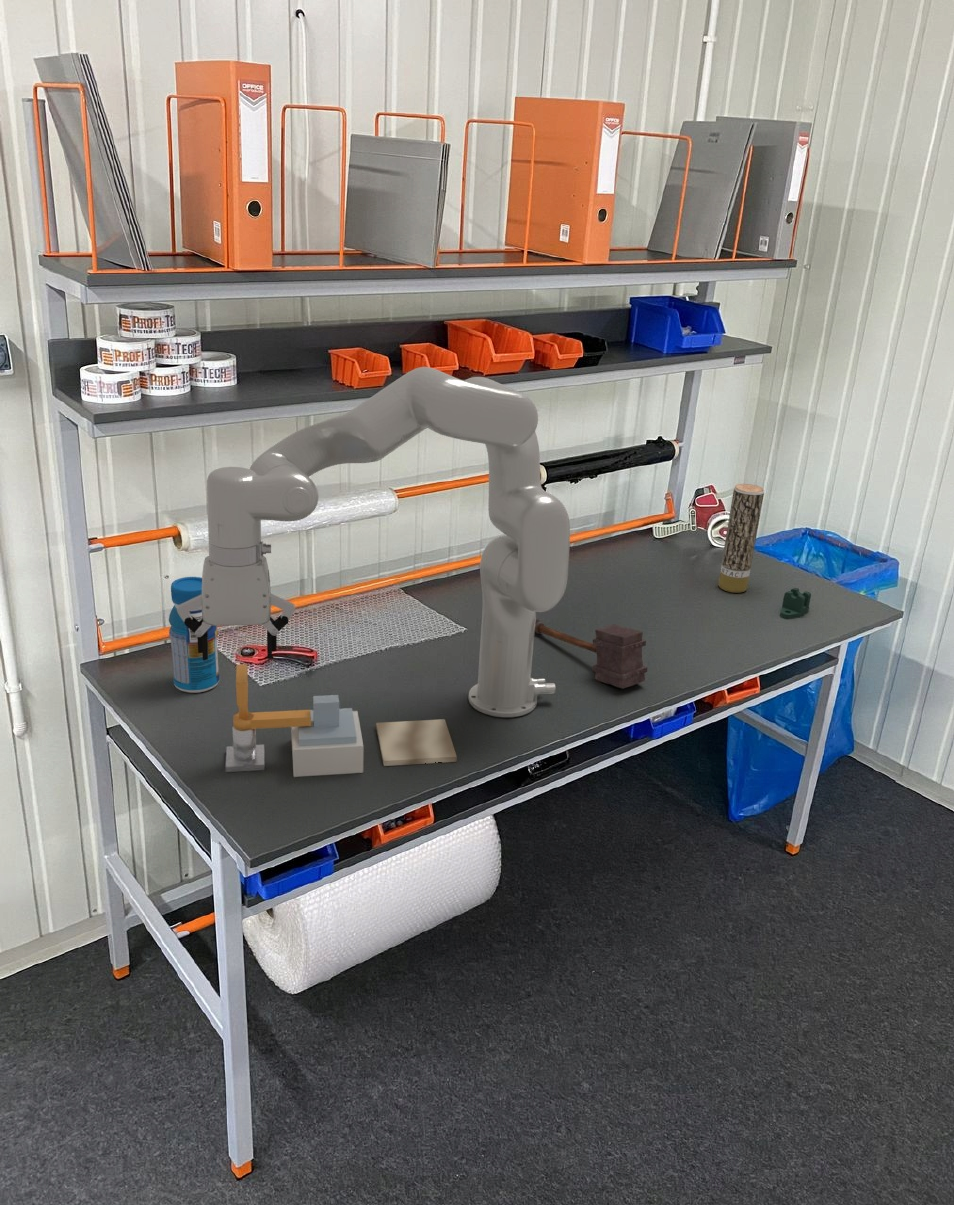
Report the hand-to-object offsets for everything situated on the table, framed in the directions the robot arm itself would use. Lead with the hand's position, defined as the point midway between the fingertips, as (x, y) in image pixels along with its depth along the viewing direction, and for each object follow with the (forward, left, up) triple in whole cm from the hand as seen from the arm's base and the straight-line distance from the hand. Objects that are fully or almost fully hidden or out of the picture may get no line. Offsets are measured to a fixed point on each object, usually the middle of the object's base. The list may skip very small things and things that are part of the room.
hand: (237, 655), depth 156 cm
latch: (-5, 0, -13) cm, 13 cm away
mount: (-122, -49, -20) cm, 133 cm away
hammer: (-65, -31, -20) cm, 75 cm away
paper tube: (-113, -63, -19) cm, 131 cm away
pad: (-28, -2, -19) cm, 34 cm away
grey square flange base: (0, 0, -19) cm, 19 cm away
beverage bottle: (+9, -27, -19) cm, 34 cm away
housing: (-13, 0, -19) cm, 23 cm away
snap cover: (-13, 0, -14) cm, 20 cm away
